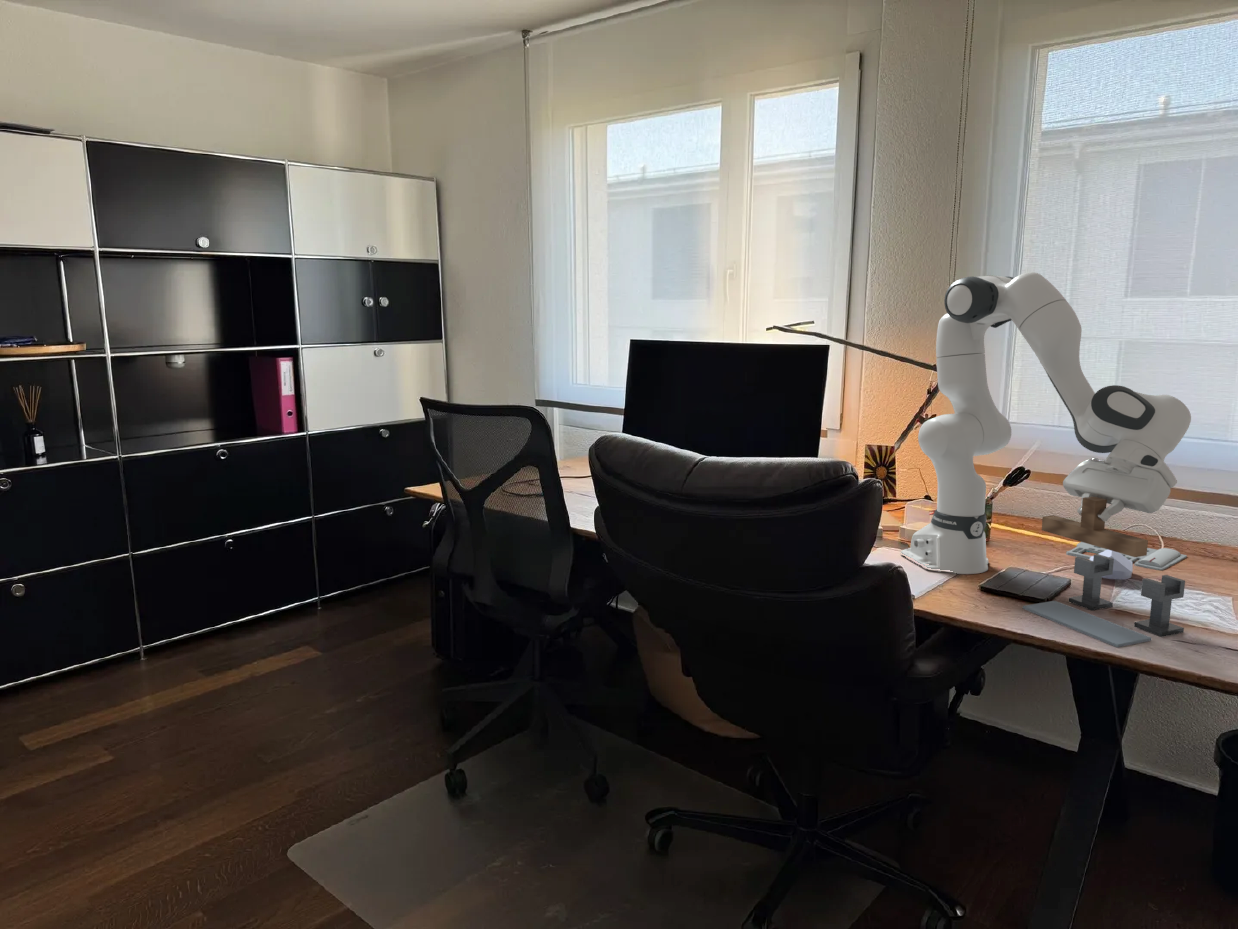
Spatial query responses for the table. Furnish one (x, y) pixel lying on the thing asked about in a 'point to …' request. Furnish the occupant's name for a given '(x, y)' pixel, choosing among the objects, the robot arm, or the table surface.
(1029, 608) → the slate mat
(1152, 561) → the office telephone
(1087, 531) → the walnut rail
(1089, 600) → the hook posts
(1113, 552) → the white wedge
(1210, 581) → the table surface
